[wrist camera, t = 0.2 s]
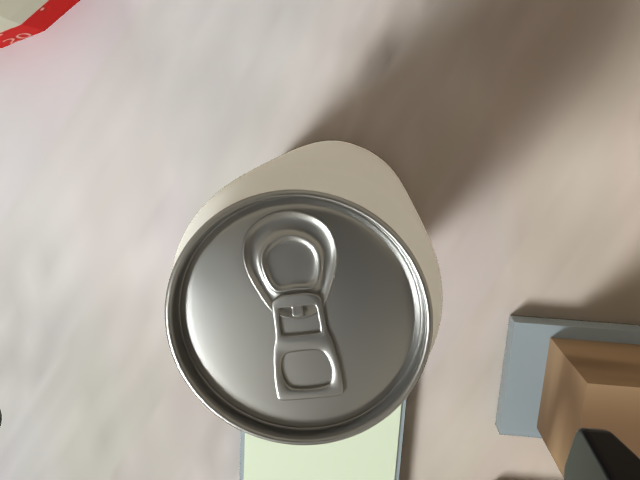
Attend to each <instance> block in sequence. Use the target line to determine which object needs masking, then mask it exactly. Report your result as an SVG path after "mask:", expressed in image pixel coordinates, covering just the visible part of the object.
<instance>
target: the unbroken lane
mask: <svg viewBox="0 0 640 480" xmlns="http://www.w3.org/2000/svg"><path fill="white" fill-rule="evenodd" d="M405 409H406V399H405V400H404V401H403V402H402V403H401V405H400V406H399V407H398V408H397V409H396V410H395V411H393V412H392V413H391V414H390V415H389V416H388V417H386V418H385V419H384V420H382V421H381V422H379V423H378V424H376V425H375V426H373V427H371V428H370V429H368V430H366V431H364V432H362V433H360V434H357V435H355V436H352V437H350V438H347V439H344V440H340V441H336V442H332V443H326V444H319V445H289V444H281V443H276V442H271V441H267V440H264V439H260V438H257V437H255V436H252V435H250V434H247V433H245V432H243V431H241V443H240V480H399V472H400V462H401V451H402V441H403V430H404V419H405Z"/></svg>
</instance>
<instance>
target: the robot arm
mask: <svg viewBox="0 0 640 480" xmlns="http://www.w3.org/2000/svg"><path fill="white" fill-rule="evenodd" d="M1 420H2V414H1V410H0V426H1ZM564 480H640V458H639V457H638V456H637V455H636V454H635V453H633V452H632V451H631V450H630V449H629V448H628V447H627V446H626V445H625V444H624V443H623V442H622V441H621V440H619V439H618V438H617V437H616V436H615V435H614V434H613V433H612V432H610V431H608V430H606V429H597V428H585V427H583V428H580V429H578V430H577V431H576V434H575V436H574V439H573V442H572V445H571V448H570V451H569V454H568V457H567V460H566V463H565V467H564Z"/></svg>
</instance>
